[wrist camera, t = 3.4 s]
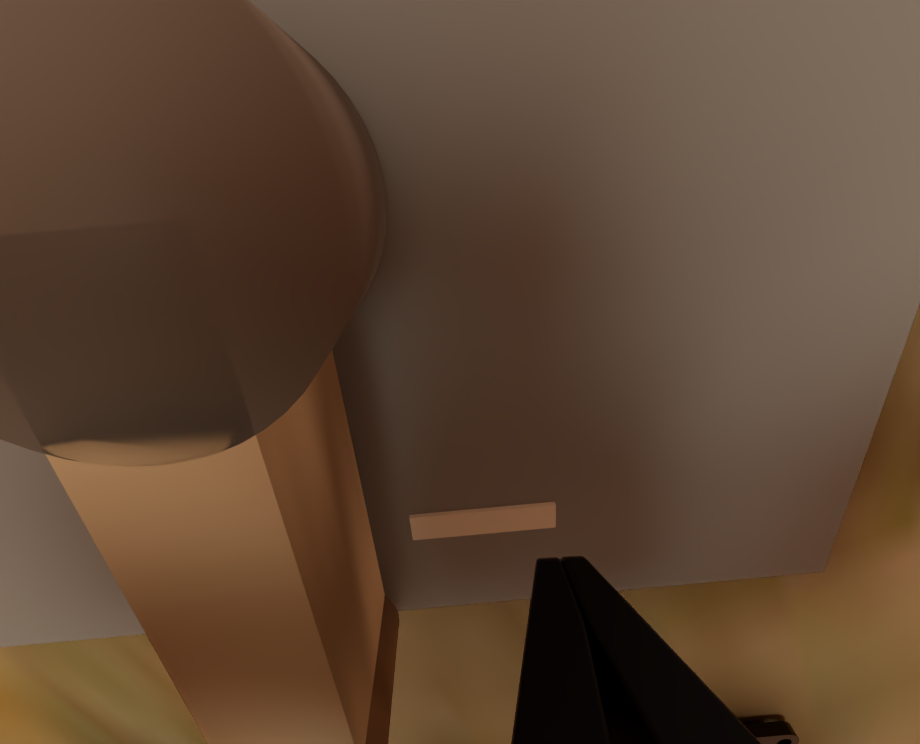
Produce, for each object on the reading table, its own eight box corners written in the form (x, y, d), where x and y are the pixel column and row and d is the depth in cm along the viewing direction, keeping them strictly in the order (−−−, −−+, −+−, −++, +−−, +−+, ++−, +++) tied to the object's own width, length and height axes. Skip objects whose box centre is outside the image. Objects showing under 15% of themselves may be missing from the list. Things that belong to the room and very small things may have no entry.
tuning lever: (-17, 21, 5) (-1053, -318, 2) (357, -12, 5) (171, -422, 2) (257, 664, 10) (154, 941, 7) (449, 647, 10) (453, 912, 7)
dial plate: (779, 525, 12) (827, 575, 10) (-57, 601, 12) (-129, 662, 10) (1185, -915, 4) (1568, -1470, 3) (-1128, -722, 4) (-1953, -1191, 3)
